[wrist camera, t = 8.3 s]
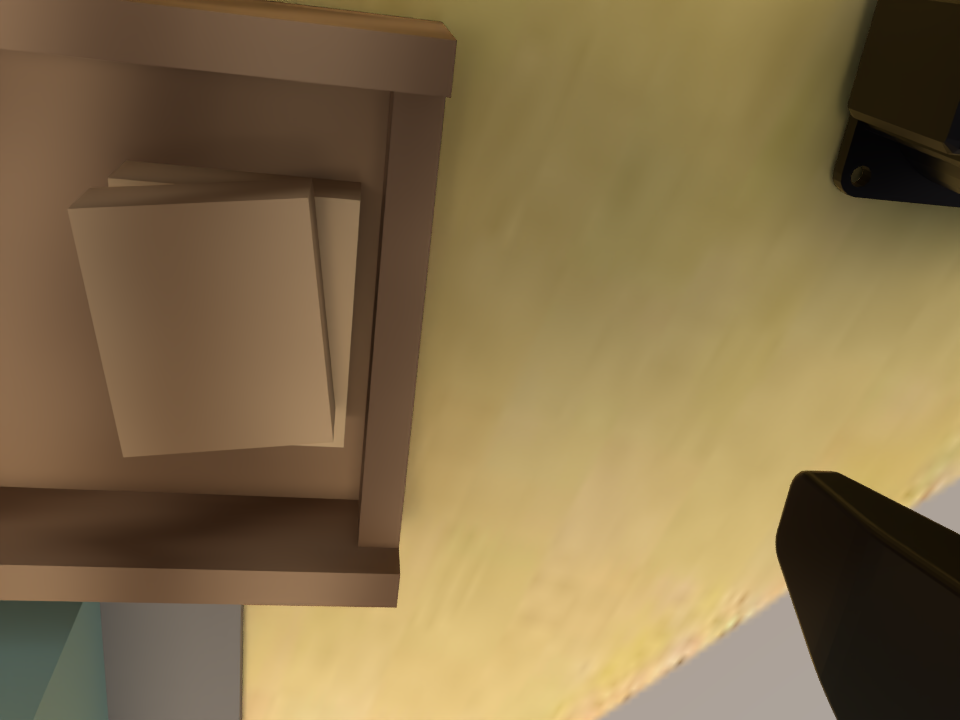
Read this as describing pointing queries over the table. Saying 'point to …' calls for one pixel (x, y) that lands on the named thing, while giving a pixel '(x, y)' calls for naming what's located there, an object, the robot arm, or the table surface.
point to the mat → (172, 660)
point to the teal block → (51, 661)
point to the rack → (68, 322)
